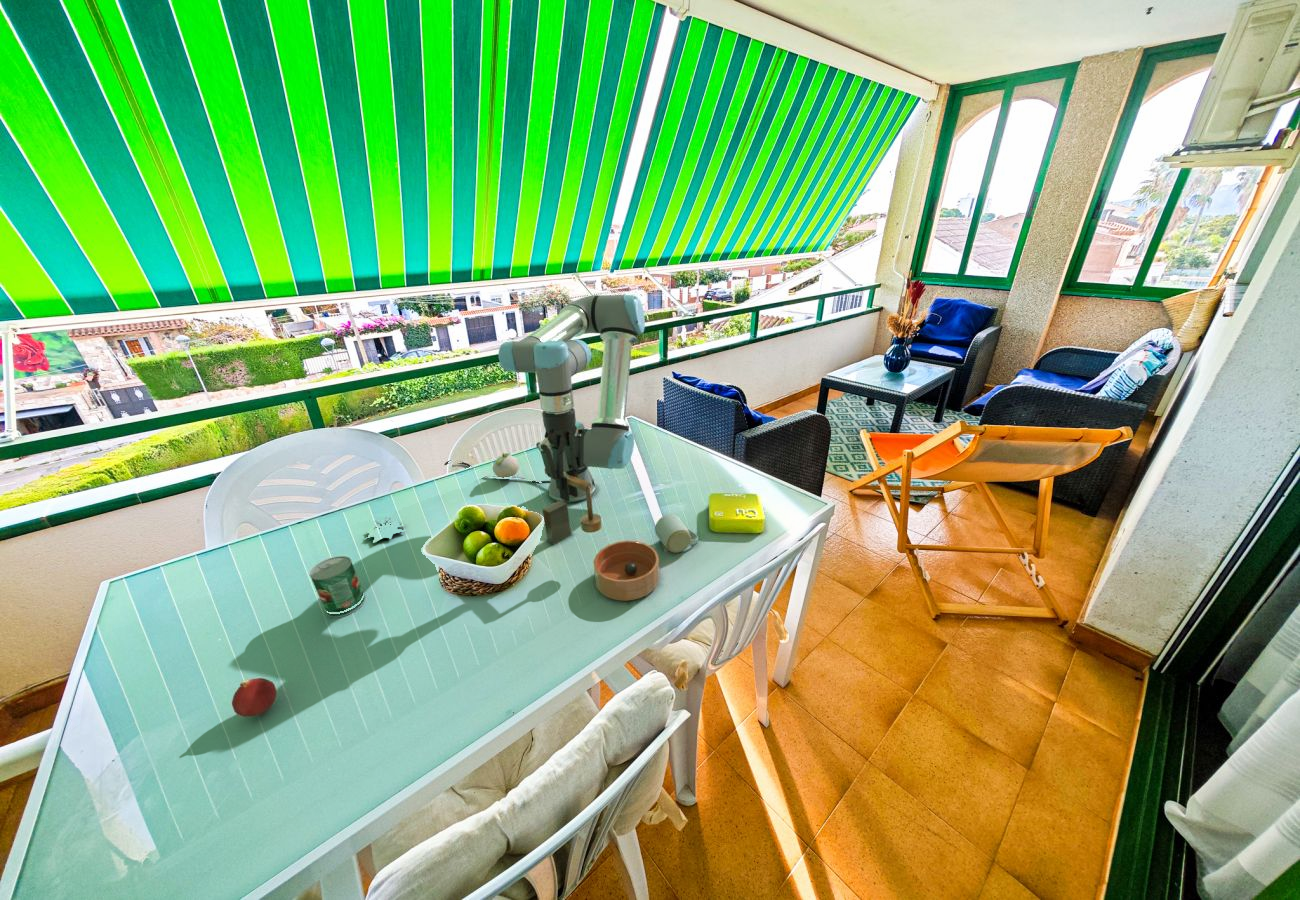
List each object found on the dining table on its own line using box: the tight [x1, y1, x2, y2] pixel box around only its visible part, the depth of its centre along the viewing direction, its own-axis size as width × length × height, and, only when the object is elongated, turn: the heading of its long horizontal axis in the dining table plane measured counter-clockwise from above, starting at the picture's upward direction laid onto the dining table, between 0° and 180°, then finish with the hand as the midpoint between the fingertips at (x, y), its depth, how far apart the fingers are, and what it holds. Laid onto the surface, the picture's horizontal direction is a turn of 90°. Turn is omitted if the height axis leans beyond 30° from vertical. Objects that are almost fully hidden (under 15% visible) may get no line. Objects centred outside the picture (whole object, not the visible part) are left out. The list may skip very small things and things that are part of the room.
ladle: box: [544, 468, 603, 533], centre depth 115 cm, size 18×5×12 cm, turn 48°
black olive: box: [625, 563, 637, 575], centre depth 111 cm, size 3×3×3 cm
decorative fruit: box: [492, 452, 520, 478], centre depth 159 cm, size 9×8×10 cm
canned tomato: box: [309, 555, 366, 619], centre depth 104 cm, size 8×8×11 cm
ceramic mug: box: [654, 513, 699, 553], centre depth 121 cm, size 11×8×8 cm
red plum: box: [231, 677, 278, 718], centre depth 80 cm, size 6×6×8 cm
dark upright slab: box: [542, 500, 572, 546], centre depth 125 cm, size 3×6×10 cm, turn 137°
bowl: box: [593, 540, 660, 602], centre depth 109 cm, size 15×15×6 cm
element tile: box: [708, 492, 766, 534], centre depth 132 cm, size 15×15×5 cm
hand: (569, 497), depth 116 cm, fingers closed on ladle, 2 cm apart
